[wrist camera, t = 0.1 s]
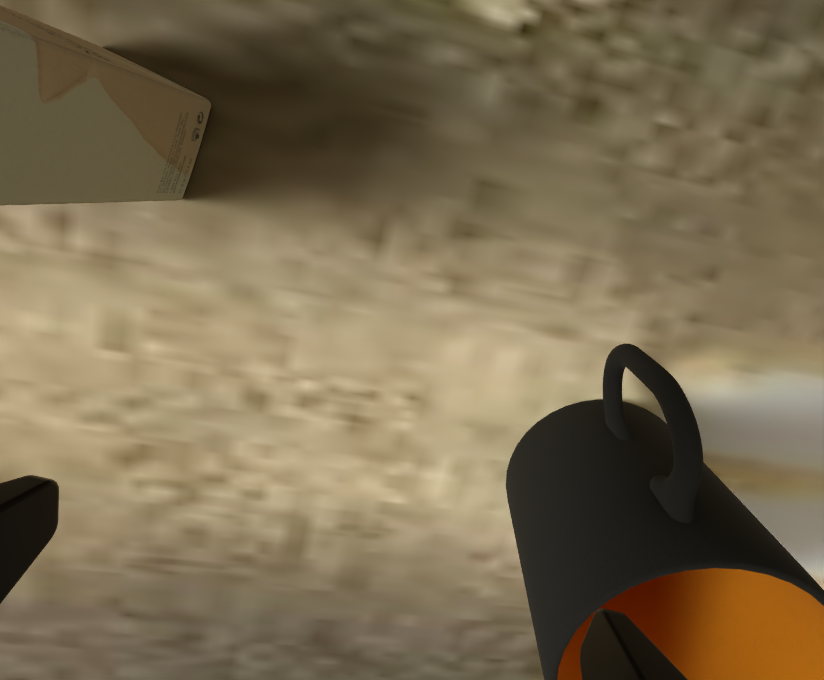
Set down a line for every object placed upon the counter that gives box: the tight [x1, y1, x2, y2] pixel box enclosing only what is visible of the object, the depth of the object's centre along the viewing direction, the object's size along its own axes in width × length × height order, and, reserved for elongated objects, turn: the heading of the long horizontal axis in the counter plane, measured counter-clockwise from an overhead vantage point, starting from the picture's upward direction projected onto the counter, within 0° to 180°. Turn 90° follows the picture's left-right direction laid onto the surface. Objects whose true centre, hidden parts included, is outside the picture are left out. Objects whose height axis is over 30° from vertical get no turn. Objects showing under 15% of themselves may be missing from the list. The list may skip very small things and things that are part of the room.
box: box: [0, 5, 211, 205], centre depth 15 cm, size 5×4×11 cm
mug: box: [506, 344, 824, 680], centre depth 18 cm, size 8×12×10 cm
